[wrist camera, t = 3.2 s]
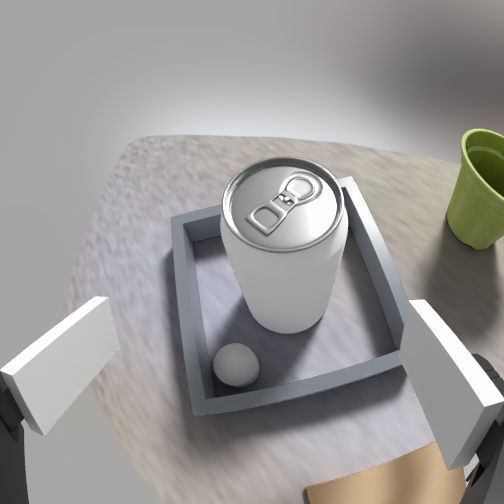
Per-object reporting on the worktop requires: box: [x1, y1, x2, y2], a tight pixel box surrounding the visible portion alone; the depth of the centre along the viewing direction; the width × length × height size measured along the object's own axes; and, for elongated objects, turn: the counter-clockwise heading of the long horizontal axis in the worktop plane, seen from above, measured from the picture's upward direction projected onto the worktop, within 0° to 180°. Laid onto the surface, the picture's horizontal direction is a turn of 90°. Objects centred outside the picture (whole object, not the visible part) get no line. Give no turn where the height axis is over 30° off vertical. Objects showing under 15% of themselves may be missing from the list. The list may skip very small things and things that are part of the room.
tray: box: [171, 176, 409, 416], centre depth 23 cm, size 16×16×3 cm
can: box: [220, 156, 348, 334], centre depth 19 cm, size 6×6×12 cm
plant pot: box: [447, 129, 504, 250], centre depth 21 cm, size 9×9×9 cm
